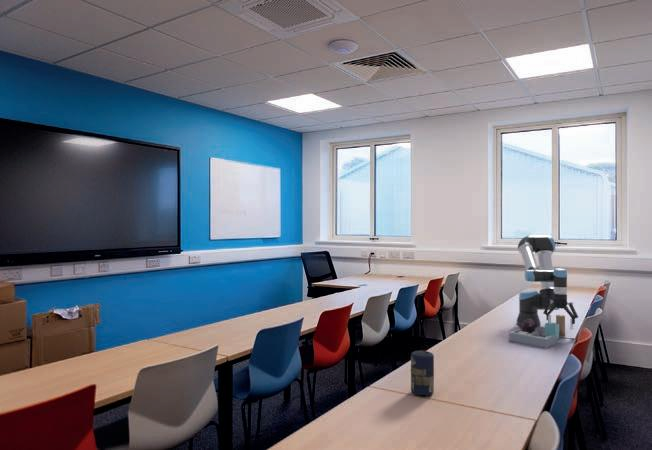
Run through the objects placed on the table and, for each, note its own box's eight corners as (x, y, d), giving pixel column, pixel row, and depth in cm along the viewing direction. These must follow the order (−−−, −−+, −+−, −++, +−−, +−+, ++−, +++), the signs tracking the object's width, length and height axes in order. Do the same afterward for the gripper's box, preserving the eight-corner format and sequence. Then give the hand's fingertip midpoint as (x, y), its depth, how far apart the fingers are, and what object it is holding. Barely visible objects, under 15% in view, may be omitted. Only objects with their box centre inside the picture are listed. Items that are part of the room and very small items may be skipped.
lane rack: (519, 336, 281) (519, 328, 281) (555, 343, 266) (555, 334, 266) (509, 340, 272) (509, 332, 272) (546, 347, 256) (546, 339, 256)
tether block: (557, 333, 290) (557, 314, 290) (567, 334, 285) (567, 315, 285) (545, 338, 277) (544, 318, 277) (555, 340, 272) (555, 320, 272)
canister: (408, 389, 195) (408, 347, 195) (429, 388, 196) (429, 347, 196) (414, 398, 185) (414, 354, 185) (437, 397, 186) (436, 353, 186)
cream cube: (519, 339, 275) (519, 331, 275) (528, 340, 272) (528, 332, 272) (517, 341, 271) (517, 332, 271) (526, 342, 268) (526, 334, 268)
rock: (517, 335, 290) (534, 337, 283) (516, 322, 289) (532, 324, 282) (524, 329, 298) (540, 331, 291) (523, 316, 298) (539, 318, 290)
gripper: (537, 292, 292) (537, 325, 292) (579, 296, 274) (579, 331, 274) (542, 290, 297) (542, 323, 297) (583, 294, 279) (584, 329, 279)
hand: (560, 327), depth 285 cm, fingers open, 13 cm apart
